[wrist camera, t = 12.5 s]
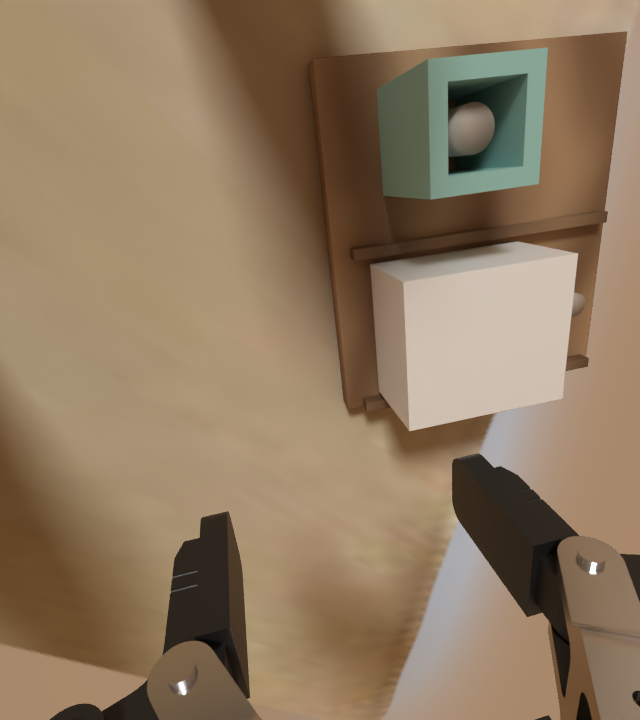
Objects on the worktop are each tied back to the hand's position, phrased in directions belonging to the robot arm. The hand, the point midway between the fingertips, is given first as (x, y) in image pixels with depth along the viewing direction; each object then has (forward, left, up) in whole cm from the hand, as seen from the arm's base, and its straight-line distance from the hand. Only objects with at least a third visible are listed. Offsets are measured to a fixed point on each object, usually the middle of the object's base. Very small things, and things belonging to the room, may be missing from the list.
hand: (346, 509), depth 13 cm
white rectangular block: (+10, 0, -14) cm, 17 cm away
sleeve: (+9, +10, -14) cm, 20 cm away
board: (+12, +4, -16) cm, 20 cm away
